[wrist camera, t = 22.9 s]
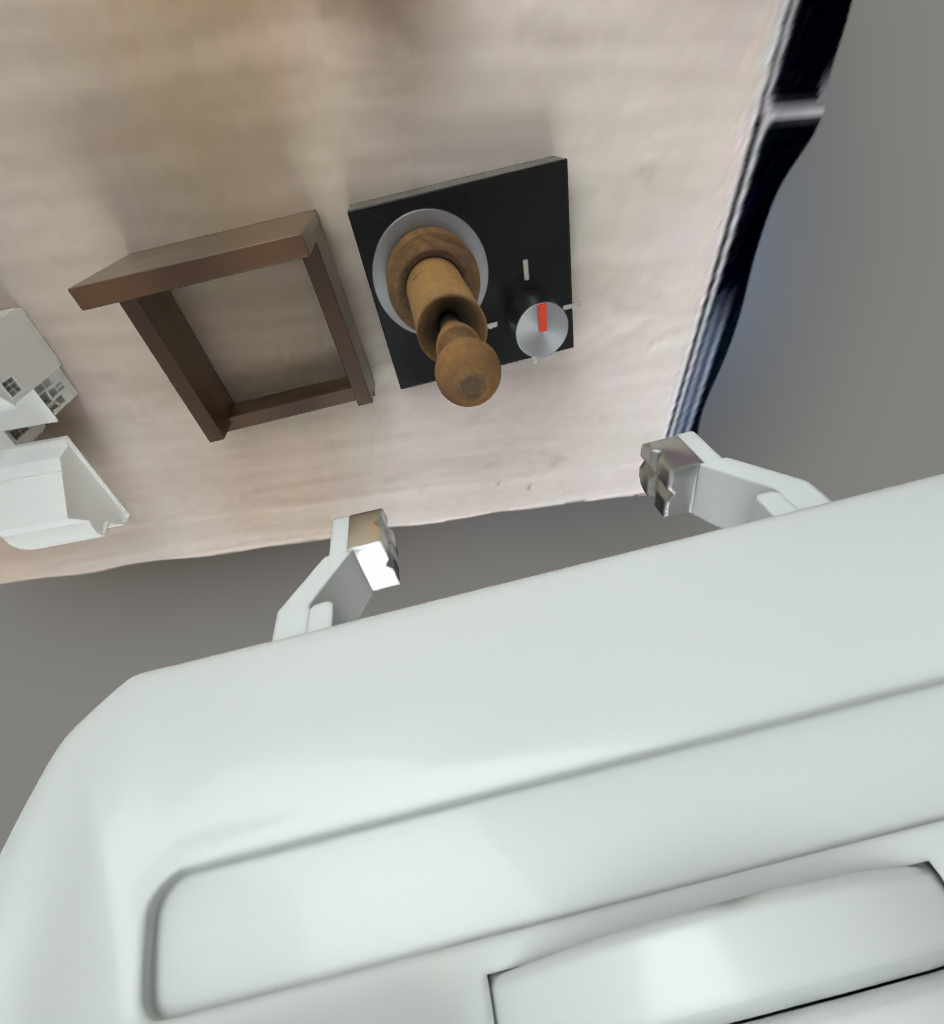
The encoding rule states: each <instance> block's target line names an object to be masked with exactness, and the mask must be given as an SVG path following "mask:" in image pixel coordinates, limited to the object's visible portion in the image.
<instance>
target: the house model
mask: <svg viewBox="0 0 944 1024" xmlns="http://www.w3.org/2000/svg"><path fill="white" fill-rule="evenodd" d="M61 365H62V364H61V362H60V361H59V359H58V358H57V357H56V355H55V354H54V352H53V351H52V350H51V348H50V347H49V345H48V344H47V343H46V341H45V340H44V338H43V337H42V336H41V334H40V333H39V331H38V330H37V329H36V327H35V326H34V324H33V323H32V322H31V320H30V319H29V317H28V316H27V314H26V313H25V312H24V310H23V309H22V307H19V308H13V309H7V310H0V537H2V538H3V539H4V540H5V541H6V542H7V543H8V544H10V545H11V546H13V547H16V548H19V549H25V550H33V549H40V548H45V547H51V546H56V545H61V544H66V543H72V542H77V541H82V540H88V539H93V538H98V537H103V536H107V531H108V528H110V527H116V526H121V525H125V524H126V523H127V521H128V519H129V517H130V514H129V513H128V512H127V511H126V509H125V508H124V507H123V506H122V504H121V503H120V502H119V500H118V499H117V498H116V497H115V495H114V494H113V493H112V492H111V490H110V489H109V488H108V486H107V485H106V484H105V483H104V481H103V480H102V479H101V478H100V476H99V475H98V474H97V473H96V471H95V470H94V469H93V467H92V466H91V465H90V464H89V462H88V461H87V460H86V459H85V457H84V456H83V455H82V453H81V452H80V451H79V450H78V448H77V447H76V446H75V445H74V443H73V442H72V441H71V439H70V438H69V437H68V436H62V437H56V438H51V439H45V440H39V441H34V442H32V441H33V440H34V439H35V438H36V437H37V436H38V435H39V434H40V433H41V432H42V431H44V428H45V427H46V425H45V424H47V423H53V422H58V419H57V418H56V417H55V415H56V414H57V413H58V412H59V411H60V410H61V409H62V408H63V407H64V406H66V405H67V404H68V403H69V402H70V401H71V400H72V399H73V398H75V397H76V395H77V394H78V392H77V391H76V390H75V388H74V387H73V385H72V384H71V383H70V381H69V380H68V378H67V377H66V376H65V374H64V373H63V372H62V370H61V369H60V366H61ZM59 404H61V405H60V406H59ZM53 405H58V406H59V407H58V408H56V409H52V410H54V411H53V412H51V411H52V410H50V409H49V408H51V407H52V406H53ZM48 406H50V407H49V408H48Z"/></svg>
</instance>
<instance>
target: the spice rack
mask: <svg viewBox="0 0 944 1024" xmlns="http://www.w3.org/2000/svg"><path fill="white" fill-rule="evenodd" d="M300 258H303V260H304V263H305V266H306V268H307V271H308V274H309V276H310V279H311V282H312V284H313V287H314V289H315V292H316V295H317V297H318V300H319V303H320V305H321V308H322V311H323V313H324V316H325V319H326V321H327V324H328V327H329V329H330V332H331V334H332V337H333V340H334V342H335V345H336V348H337V350H338V353H339V356H340V358H341V361H342V364H343V366H344V369H345V371H346V374H347V377H344V378H340V379H336V380H332V381H328V382H323V383H319V384H315V385H311V386H307V387H303V388H299V389H295V390H291V391H287V392H282V393H278V394H274V395H270V396H266V397H262V398H258V399H254V400H250V401H246V402H241V403H237V404H234V403H233V401H232V400H231V398H230V396H229V394H228V393H227V391H226V389H225V387H224V386H223V384H222V382H221V380H220V379H219V377H218V375H217V374H216V372H215V370H214V368H213V367H212V365H211V363H210V361H209V360H208V358H207V356H206V354H205V353H204V351H203V349H202V347H201V346H200V344H199V342H198V340H197V339H196V337H195V335H194V333H193V332H192V330H191V328H190V326H189V325H188V323H187V321H186V319H185V318H184V316H183V314H182V313H181V311H180V309H179V307H178V306H177V304H176V302H175V300H174V299H173V297H172V295H171V293H170V292H169V290H172V289H176V288H180V287H184V286H188V285H192V284H196V283H201V282H205V281H209V280H213V279H217V278H221V277H226V276H230V275H234V274H238V273H242V272H246V271H250V270H255V269H259V268H263V267H267V266H271V265H275V264H279V263H284V262H288V261H292V260H296V259H300ZM68 291H69V292H70V294H71V295H72V296H73V298H74V299H75V301H76V302H77V303H78V305H79V306H80V308H81V309H82V310H89V309H93V308H97V307H101V306H105V305H109V304H113V303H118V302H119V303H120V305H121V306H122V308H123V309H124V311H125V312H126V314H127V315H128V317H129V318H130V320H131V321H132V323H133V325H134V326H135V328H136V329H137V331H138V332H139V334H140V335H141V337H142V338H143V340H144V341H145V343H146V345H147V346H148V348H149V349H150V351H151V352H152V354H153V355H154V357H155V358H156V360H157V361H158V363H159V364H160V366H161V368H162V369H163V371H164V372H165V374H166V375H167V377H168V378H169V380H170V381H171V383H172V384H173V386H174V388H175V389H176V391H177V392H178V394H179V395H180V397H181V398H182V400H183V401H184V403H185V404H186V406H187V407H188V409H189V411H190V412H191V414H192V415H193V417H194V418H195V420H196V421H197V423H198V424H199V426H200V427H201V429H202V431H203V432H204V434H205V435H206V437H207V438H208V440H209V441H210V442H214V441H218V440H222V439H225V436H226V434H227V432H228V431H232V430H237V429H241V428H245V427H249V426H253V425H257V424H261V423H265V422H269V421H273V420H277V419H282V418H286V417H290V416H294V415H298V414H302V413H306V412H310V411H314V410H318V409H322V408H327V407H331V406H335V405H339V404H343V403H347V402H351V401H355V400H356V401H357V403H358V405H359V406H361V405H365V404H370V403H373V396H375V382H374V379H373V376H372V373H371V371H370V368H369V365H368V362H367V359H366V356H365V353H364V350H363V347H362V344H361V341H360V338H359V335H358V333H357V330H356V327H355V324H354V321H353V318H352V315H351V312H350V309H349V306H348V303H347V300H346V297H345V294H344V291H343V288H342V286H341V283H340V280H339V277H338V274H337V271H336V268H335V265H334V262H333V259H332V256H331V253H330V250H329V247H328V244H327V241H326V238H325V236H324V233H323V230H322V227H321V224H320V221H319V218H318V215H317V212H316V210H311V211H306V212H302V213H298V214H294V215H290V216H286V217H281V218H277V219H273V220H269V221H265V222H261V223H256V224H252V225H248V226H244V227H240V228H236V229H231V230H227V231H223V232H219V233H215V234H211V235H206V236H202V237H198V238H194V239H190V240H186V241H181V242H177V243H173V244H169V245H165V246H161V247H156V248H152V249H148V250H144V251H140V252H135V253H131V254H129V255H127V256H125V257H124V258H122V259H120V260H118V261H117V262H115V263H113V264H111V265H109V266H108V267H106V268H104V269H102V270H101V271H99V272H97V273H95V274H94V275H92V276H90V277H88V278H87V279H85V280H83V281H81V282H80V283H78V284H76V285H74V286H73V287H71V288H69V289H68Z"/></svg>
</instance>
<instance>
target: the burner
mask: <svg viewBox="0 0 944 1024" xmlns="http://www.w3.org/2000/svg"><path fill="white" fill-rule="evenodd" d="M428 226H434V227H441V228H444V229H447V230H449V231H451V232H453V233H454V234H456V235H457V236H458V237H459V238H460V239H461V240H462V241H463V242H464V243H465V244H466V245H467V247H468V248H469V250H470V251H471V253H472V254H473V256H474V258H475V260H476V262H477V265H478V268H479V273H480V293H479V298H478V301H477V303H478V304H479V306H480V305H481V303H482V301H483V299H484V296H485V293H486V289H487V284H488V262H487V257H486V253H485V250H484V247H483V245H482V243H481V241H480V239H479V238H478V236H477V235H476V233H475V232H474V231H473V229H472V228H471V227H470V226H469V225H468V224H467V223H466V222H465V221H464V220H462V219H461V218H459V217H458V216H456V215H454V214H452V213H450V212H448V211H445V210H441V209H436V208H422V209H416V210H413V211H410V212H408V213H406V214H404V215H402V216H400V217H399V218H397V219H396V220H395V221H393V222H392V223H391V224H390V225H389V226H388V228H387V229H386V230H385V231H384V233H383V234H382V236H381V238H380V239H379V241H378V244H377V246H376V249H375V253H374V256H373V264H372V277H373V284H374V288H375V292H376V295H377V298H378V300H379V302H380V304H381V306H382V307H383V309H384V310H385V312H386V313H387V314H388V315H389V317H390V318H391V319H392V320H394V321H395V322H396V323H397V324H398V325H400V326H401V327H403V328H404V329H406V330H408V331H411V332H413V333H416V331H415V330H413V329H412V328H410V327H409V326H407V325H406V324H405V323H404V322H403V321H402V320H401V319H400V318H399V317H398V315H397V314H396V312H395V311H394V309H393V307H392V305H391V302H390V299H389V295H388V290H387V284H386V269H387V263H388V260H389V257H390V254H391V252H392V250H393V248H394V247H395V245H396V244H397V243H398V242H399V240H400V239H401V238H403V237H404V236H405V235H406V234H408V233H409V232H411V231H413V230H415V229H418V228H422V227H428ZM416 334H417V333H416Z"/></svg>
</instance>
